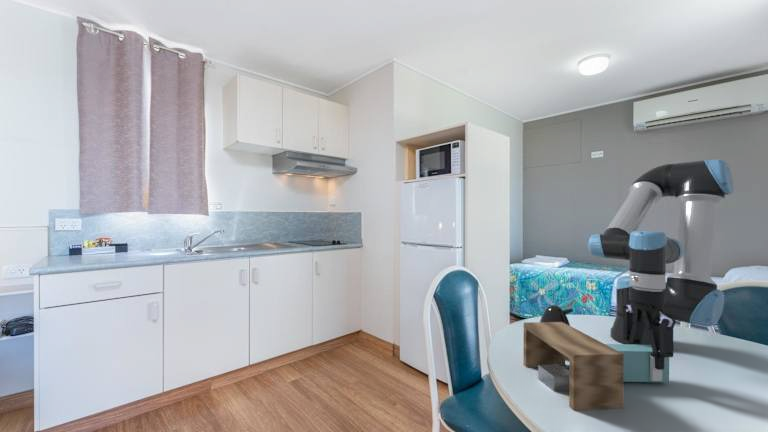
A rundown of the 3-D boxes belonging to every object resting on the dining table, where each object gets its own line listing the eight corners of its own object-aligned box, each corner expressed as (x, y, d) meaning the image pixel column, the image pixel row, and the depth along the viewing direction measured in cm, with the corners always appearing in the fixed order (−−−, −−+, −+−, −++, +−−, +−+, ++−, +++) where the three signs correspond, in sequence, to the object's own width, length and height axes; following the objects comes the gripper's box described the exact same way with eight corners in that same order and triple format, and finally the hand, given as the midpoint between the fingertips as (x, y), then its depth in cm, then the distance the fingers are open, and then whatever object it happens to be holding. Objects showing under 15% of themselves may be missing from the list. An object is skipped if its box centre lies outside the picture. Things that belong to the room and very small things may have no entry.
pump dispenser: (578, 360, 96) (579, 310, 96) (542, 357, 98) (542, 308, 98) (566, 346, 106) (566, 302, 106) (533, 344, 108) (533, 300, 108)
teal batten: (654, 373, 87) (654, 344, 87) (669, 382, 82) (669, 351, 82) (570, 372, 87) (570, 343, 87) (580, 380, 82) (580, 350, 82)
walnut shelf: (561, 363, 94) (562, 321, 94) (623, 408, 72) (623, 354, 72) (523, 364, 93) (523, 322, 93) (573, 410, 71) (574, 355, 71)
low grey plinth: (557, 378, 86) (558, 363, 86) (574, 390, 80) (575, 374, 80) (538, 379, 85) (538, 365, 85) (554, 392, 79) (554, 376, 79)
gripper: (607, 281, 93) (607, 359, 93) (666, 296, 75) (665, 394, 75) (631, 281, 94) (630, 359, 94) (695, 296, 76) (694, 392, 76)
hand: (646, 374), depth 84 cm, fingers closed on teal batten, 5 cm apart
